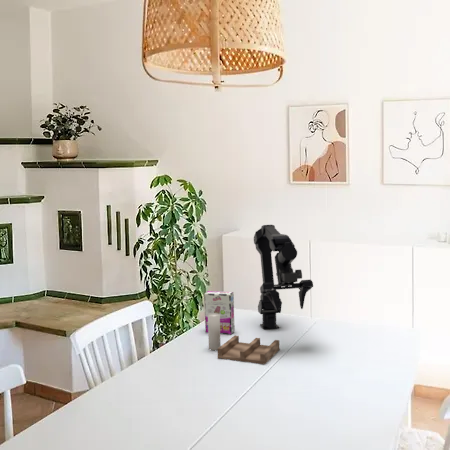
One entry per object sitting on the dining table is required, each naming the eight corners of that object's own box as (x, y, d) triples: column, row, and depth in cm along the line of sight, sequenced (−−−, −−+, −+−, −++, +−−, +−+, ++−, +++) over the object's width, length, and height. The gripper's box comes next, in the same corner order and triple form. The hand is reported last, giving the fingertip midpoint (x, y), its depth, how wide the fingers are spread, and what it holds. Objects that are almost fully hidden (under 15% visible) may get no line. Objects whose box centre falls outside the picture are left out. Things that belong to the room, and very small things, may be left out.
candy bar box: (235, 331, 247) (234, 291, 244) (231, 334, 242) (230, 294, 240) (208, 329, 250) (207, 290, 248) (204, 333, 245) (203, 293, 243)
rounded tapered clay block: (207, 347, 228) (206, 313, 226) (219, 346, 229) (218, 312, 227) (209, 351, 224) (208, 316, 222) (221, 350, 224) (220, 315, 223)
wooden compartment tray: (234, 344, 230) (234, 335, 230) (279, 349, 223) (279, 340, 223) (217, 358, 216) (217, 348, 215) (264, 364, 209) (264, 354, 208)
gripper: (263, 263, 216) (269, 306, 210) (314, 260, 219) (321, 302, 214) (257, 272, 226) (262, 313, 221) (305, 268, 229) (312, 309, 224)
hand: (289, 309), depth 219 cm, fingers open, 9 cm apart
